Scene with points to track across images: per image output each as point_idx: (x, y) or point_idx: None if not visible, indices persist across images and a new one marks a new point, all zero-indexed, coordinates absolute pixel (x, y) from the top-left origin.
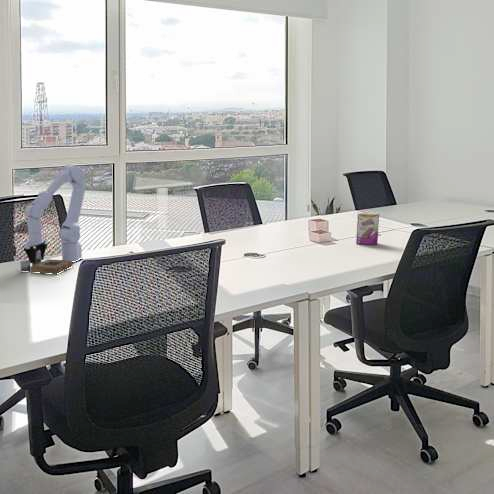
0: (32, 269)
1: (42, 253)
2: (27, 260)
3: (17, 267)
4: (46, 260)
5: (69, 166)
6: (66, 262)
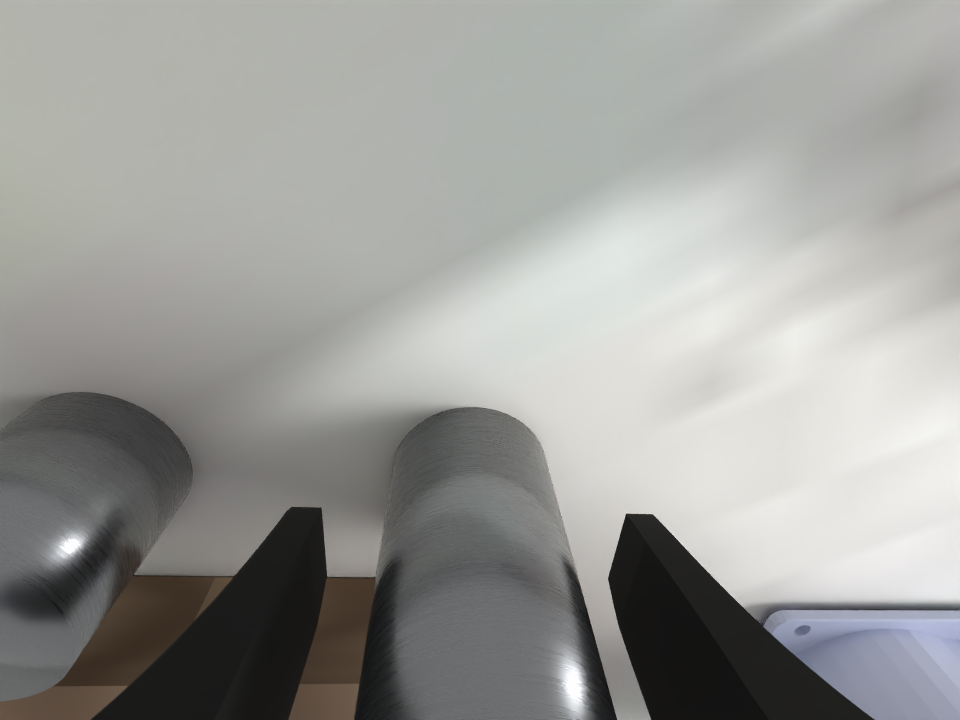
0: None
1: (665, 718)
2: (63, 627)
3: (306, 150)
4: None
5: None
6: None
